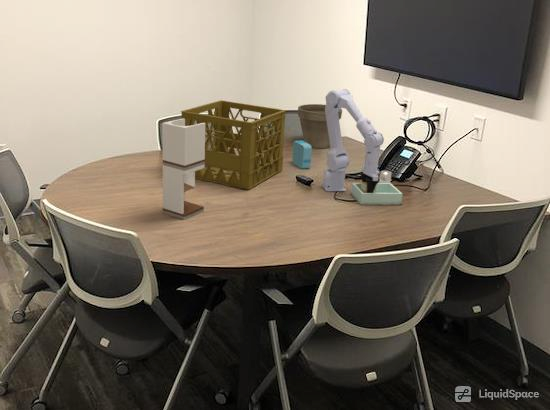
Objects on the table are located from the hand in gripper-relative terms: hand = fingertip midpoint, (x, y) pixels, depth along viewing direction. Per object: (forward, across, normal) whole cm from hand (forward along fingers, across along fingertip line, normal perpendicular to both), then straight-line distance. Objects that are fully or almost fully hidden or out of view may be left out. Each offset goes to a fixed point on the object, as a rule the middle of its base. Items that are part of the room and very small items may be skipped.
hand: (367, 191), depth 247 cm
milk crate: (+4, +36, +54) cm, 65 cm away
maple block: (+2, 0, 0) cm, 2 cm away
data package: (+4, +49, +18) cm, 52 cm away
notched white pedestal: (+4, -13, +79) cm, 80 cm away
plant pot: (+4, +90, -1) cm, 90 cm away
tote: (+3, 0, -4) cm, 5 cm away
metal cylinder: (+3, +17, -14) cm, 23 cm away
